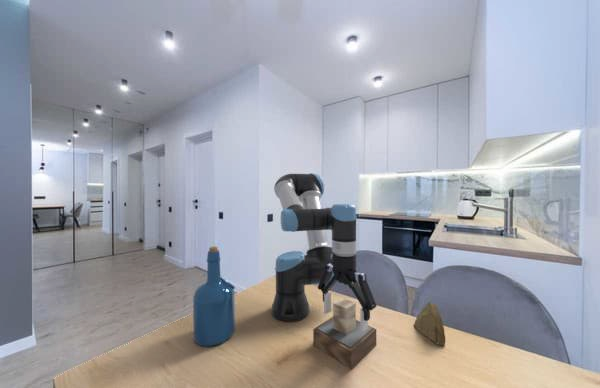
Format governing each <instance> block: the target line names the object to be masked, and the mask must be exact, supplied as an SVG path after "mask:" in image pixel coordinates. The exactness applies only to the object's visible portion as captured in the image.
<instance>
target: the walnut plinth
mask: <svg viewBox="0 0 600 388" xmlns="http://www.w3.org/2000/svg"><path fill="white" fill-rule="evenodd" d="M312 332H313V339H312V340H313V341H312V342H313V346H314V347H316V348H318V349H319V350H321V351H323V352H324V354H325V353H326V355H329V356H330V357H331V358H333V359H334V360H336V361H337V362H339V363H341V364H342V365H343V366H345V367H346V368H348V369H350V370H353V369H354V368H355V367H356V366H357V365H358V364H359V363H360V362H361V361H363V359H364V358H365V357H366V356H367V355H368V354H369V353H370V352H371V351H372V350H373V349H374V348H375V347H376V346H377V328H375V327H372V326H370V325H368V328H367V329H366V330H365V331H364V332H361V331H360V321H359V320H357V319H356V328H355V329H354V330H353V331H352V332H350V333H349V334H348V335H345V334H343V333H341V332H339V331H338V330H336V329H334V328H333V316H331V317H330V318H329V319H327V320H326V321H324V322H322V323H321V324H319V325H317V326H316V327H314V328H313V330H312Z"/></svg>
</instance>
